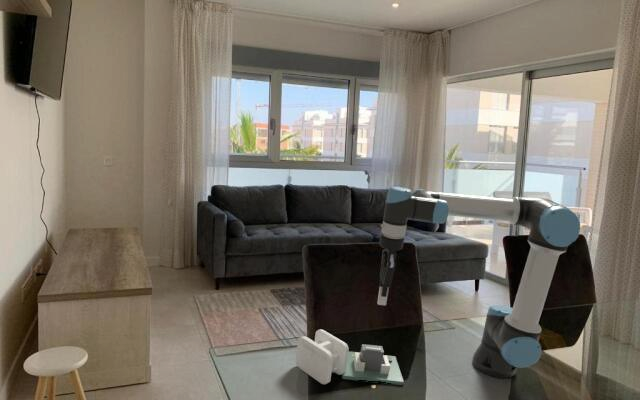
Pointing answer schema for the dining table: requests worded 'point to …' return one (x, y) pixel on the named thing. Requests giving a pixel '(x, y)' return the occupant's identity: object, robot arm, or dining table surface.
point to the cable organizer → (322, 356)
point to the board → (386, 374)
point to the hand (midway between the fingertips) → (381, 304)
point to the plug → (371, 357)
